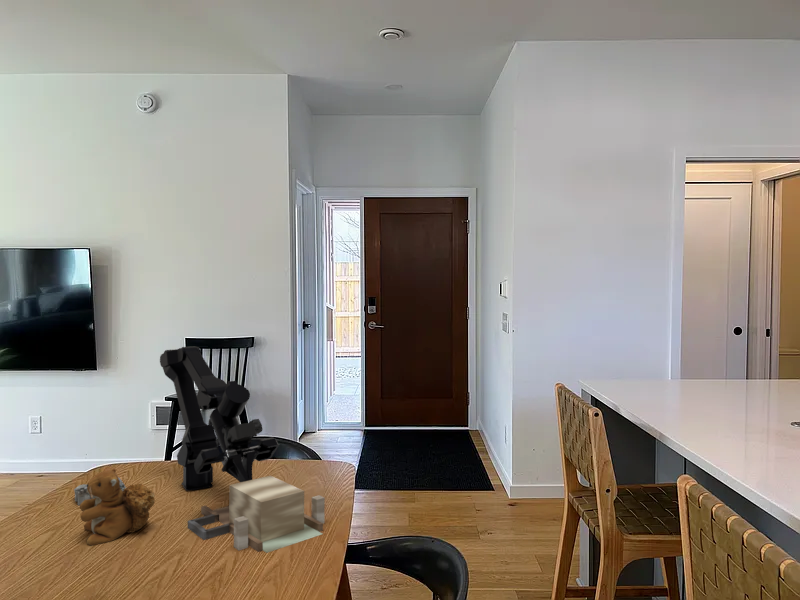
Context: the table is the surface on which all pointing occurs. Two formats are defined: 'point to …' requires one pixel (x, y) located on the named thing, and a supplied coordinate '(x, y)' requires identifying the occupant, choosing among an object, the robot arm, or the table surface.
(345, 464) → the table surface
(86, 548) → the table surface
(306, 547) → the table surface
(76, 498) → the egg carton
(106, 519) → the stuffed squirrel
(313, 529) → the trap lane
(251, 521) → the maple block
